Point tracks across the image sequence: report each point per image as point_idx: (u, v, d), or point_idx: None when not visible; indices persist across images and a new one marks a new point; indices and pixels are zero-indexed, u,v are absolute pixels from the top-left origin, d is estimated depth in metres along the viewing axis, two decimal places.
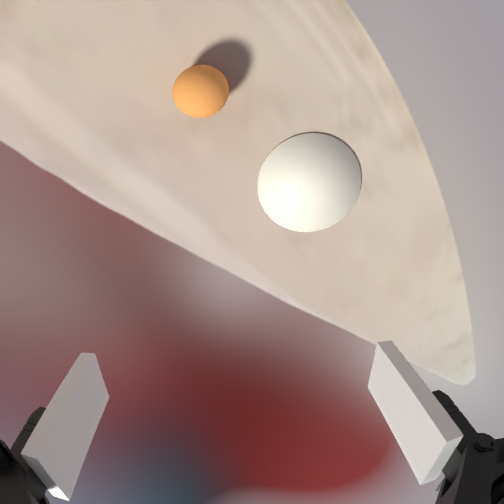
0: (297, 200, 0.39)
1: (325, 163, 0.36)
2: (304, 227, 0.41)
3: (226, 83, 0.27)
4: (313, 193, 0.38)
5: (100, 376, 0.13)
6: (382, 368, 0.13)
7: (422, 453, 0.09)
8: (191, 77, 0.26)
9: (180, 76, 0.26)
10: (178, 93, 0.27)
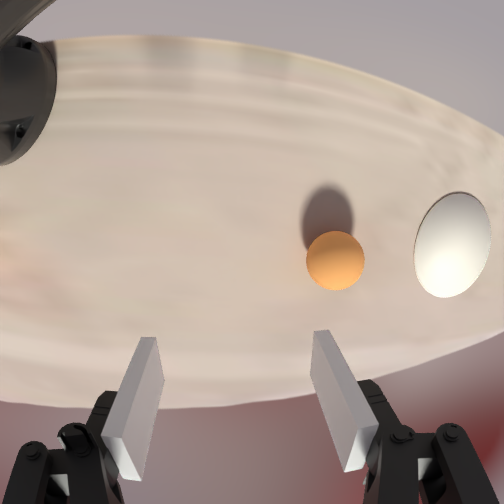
0: (454, 267, 0.34)
1: (455, 222, 0.32)
2: (471, 280, 0.34)
3: (353, 238, 0.28)
4: (461, 252, 0.33)
5: (159, 359, 0.15)
6: (317, 356, 0.14)
7: (343, 439, 0.10)
8: (326, 261, 0.27)
9: (312, 265, 0.28)
10: (324, 281, 0.28)
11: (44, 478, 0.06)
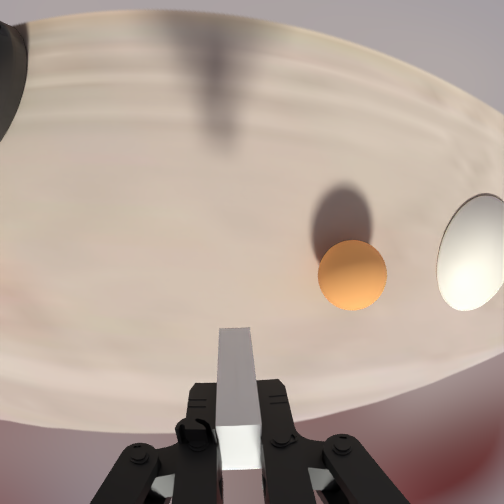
0: (478, 277, 0.29)
1: (481, 227, 0.27)
2: (493, 290, 0.29)
3: (374, 250, 0.23)
4: (486, 260, 0.28)
5: None
6: None
7: None
8: (343, 278, 0.22)
9: (326, 282, 0.23)
10: (341, 302, 0.23)
11: (147, 485, 0.07)
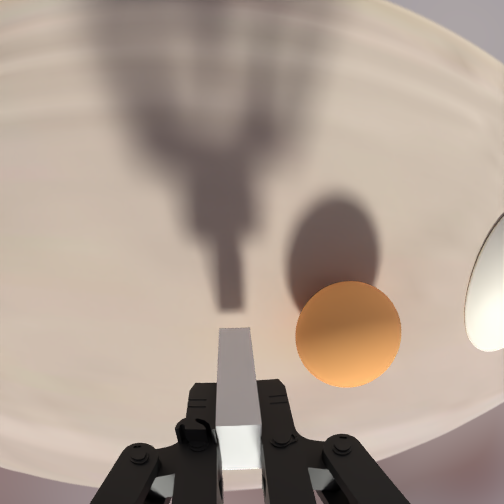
0: None
1: None
2: None
3: (384, 299, 0.14)
4: None
5: None
6: None
7: None
8: (332, 350, 0.13)
9: (306, 352, 0.14)
10: (328, 381, 0.14)
11: (147, 485, 0.07)
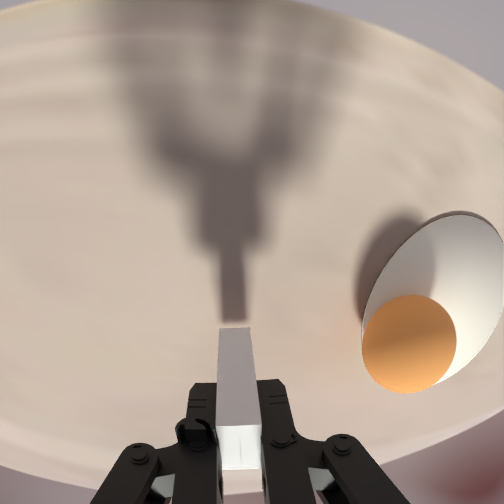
0: None
1: (447, 268, 0.17)
2: (468, 356, 0.20)
3: (406, 318, 0.14)
4: (455, 317, 0.18)
5: None
6: None
7: None
8: None
9: None
10: None
11: (147, 485, 0.07)
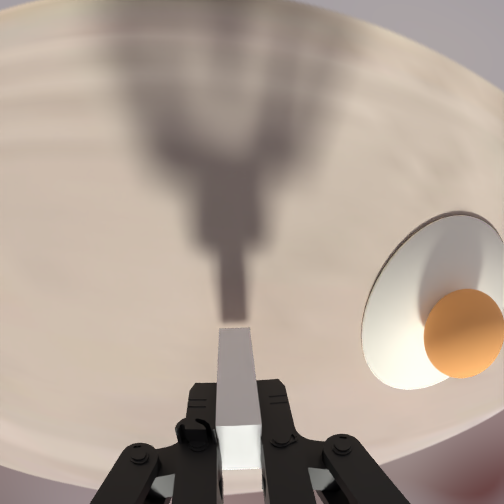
0: None
1: (447, 269, 0.17)
2: None
3: (496, 307, 0.14)
4: None
5: None
6: None
7: None
8: (453, 341, 0.14)
9: (432, 342, 0.16)
10: (444, 368, 0.15)
11: (147, 485, 0.07)
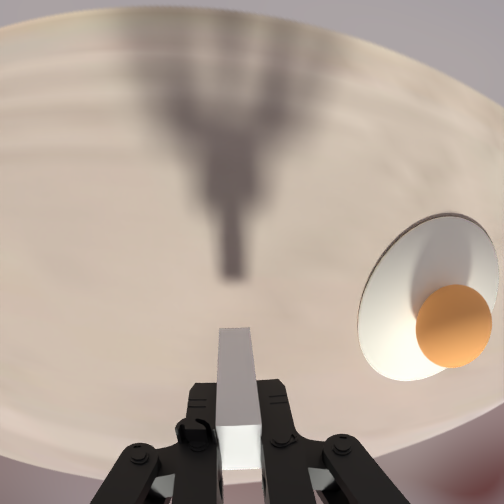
0: None
1: (437, 266, 0.19)
2: None
3: (482, 301, 0.16)
4: None
5: None
6: None
7: None
8: (441, 332, 0.16)
9: (422, 333, 0.17)
10: (434, 358, 0.17)
11: (147, 485, 0.07)
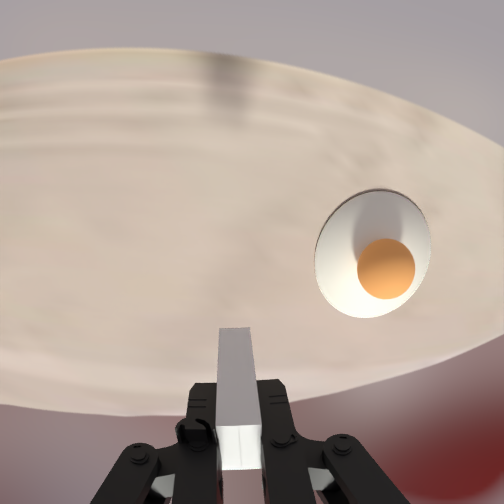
0: None
1: (373, 226, 0.29)
2: (403, 296, 0.31)
3: (404, 248, 0.25)
4: None
5: None
6: None
7: None
8: (371, 268, 0.26)
9: (359, 271, 0.27)
10: (369, 289, 0.26)
11: (147, 485, 0.07)
